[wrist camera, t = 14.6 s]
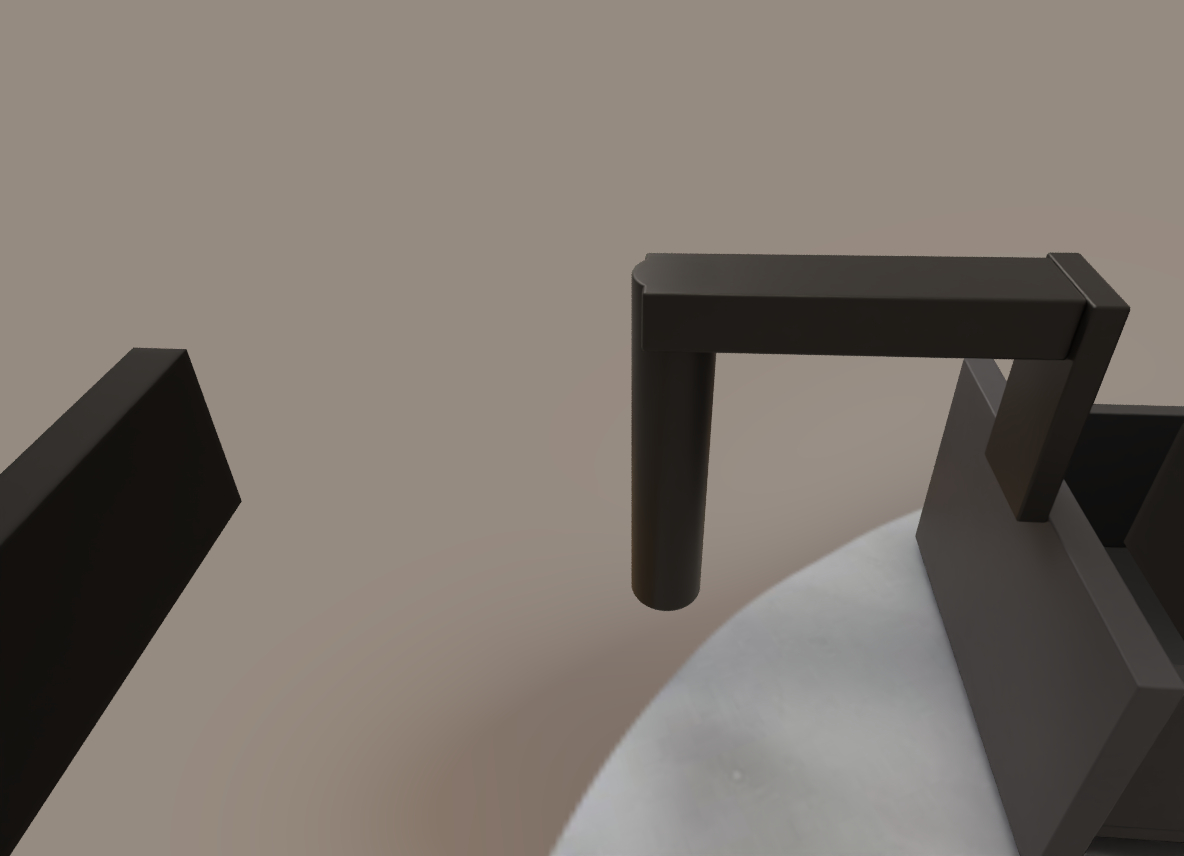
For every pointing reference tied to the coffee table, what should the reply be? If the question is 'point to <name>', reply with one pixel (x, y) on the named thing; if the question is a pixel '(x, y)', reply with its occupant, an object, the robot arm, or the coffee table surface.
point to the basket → (961, 502)
